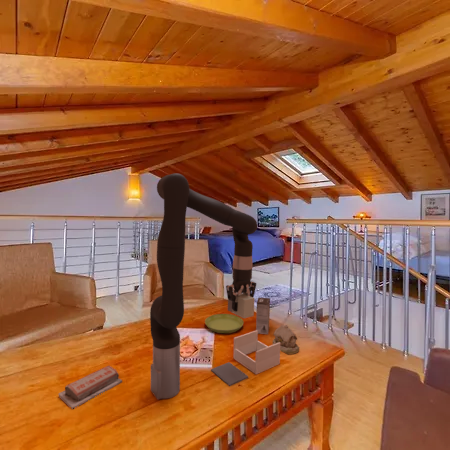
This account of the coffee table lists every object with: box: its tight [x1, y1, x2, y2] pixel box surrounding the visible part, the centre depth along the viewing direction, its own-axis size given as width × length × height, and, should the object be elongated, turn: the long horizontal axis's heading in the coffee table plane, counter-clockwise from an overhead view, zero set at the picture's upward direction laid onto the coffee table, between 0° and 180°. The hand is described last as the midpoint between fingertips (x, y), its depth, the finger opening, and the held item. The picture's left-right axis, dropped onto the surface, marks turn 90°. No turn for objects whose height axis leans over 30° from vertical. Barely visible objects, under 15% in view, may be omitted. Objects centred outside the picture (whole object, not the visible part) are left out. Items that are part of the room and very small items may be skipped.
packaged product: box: [58, 365, 123, 410], centre depth 102 cm, size 18×5×10 cm
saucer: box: [204, 313, 244, 334], centre depth 155 cm, size 21×21×3 cm
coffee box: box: [255, 297, 271, 335], centre depth 151 cm, size 9×6×16 cm
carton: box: [233, 329, 281, 375], centre depth 121 cm, size 13×14×9 cm
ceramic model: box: [272, 324, 300, 355], centre depth 135 cm, size 14×11×10 cm
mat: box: [210, 361, 249, 387], centre depth 112 cm, size 9×12×1 cm
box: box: [227, 292, 256, 319], centre depth 114 cm, size 5×10×7 cm, turn 37°
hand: (240, 309), depth 114 cm, fingers closed on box, 5 cm apart
